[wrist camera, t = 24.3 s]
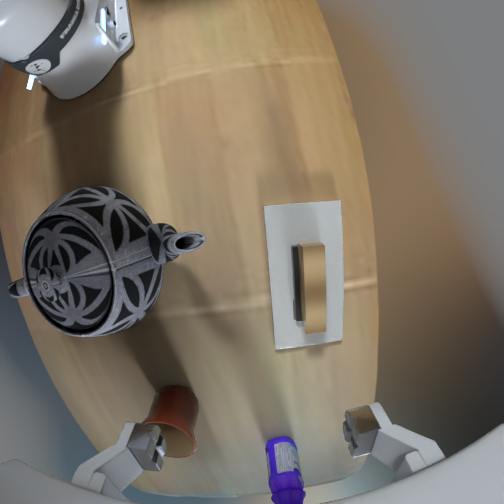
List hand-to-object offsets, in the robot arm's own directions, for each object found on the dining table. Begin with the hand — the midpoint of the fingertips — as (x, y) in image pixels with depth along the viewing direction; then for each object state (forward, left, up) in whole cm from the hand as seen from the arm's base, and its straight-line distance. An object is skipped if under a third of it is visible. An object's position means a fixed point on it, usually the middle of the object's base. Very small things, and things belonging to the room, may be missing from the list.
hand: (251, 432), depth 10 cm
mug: (+22, -15, -27) cm, 38 cm away
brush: (+2, +8, -26) cm, 27 cm away
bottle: (+36, +3, -27) cm, 45 cm away
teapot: (-4, -18, -27) cm, 33 cm away
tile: (+2, +8, -27) cm, 28 cm away
